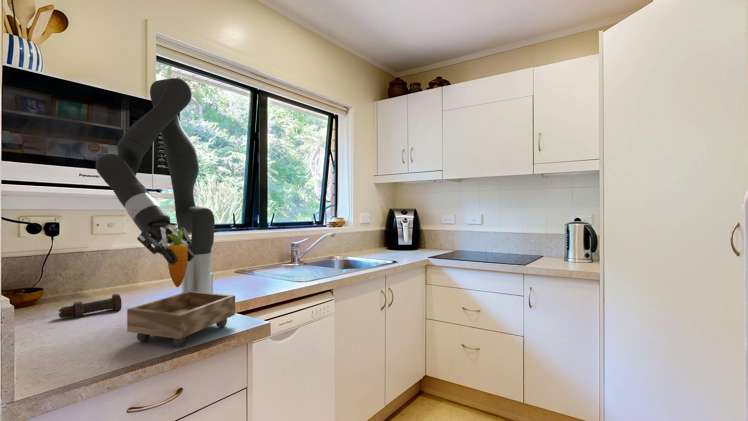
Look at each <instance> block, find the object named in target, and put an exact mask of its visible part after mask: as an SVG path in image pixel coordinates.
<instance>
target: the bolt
mask: <svg viewBox="0 0 748 421" xmlns="http://www.w3.org/2000/svg"><path fill="white" fill-rule="evenodd" d="M121 297H122V296H121V295H120V293H113V294H112V295H111V297H110V298H106V299H101V300H97V301H91V302H84V303H83V302H82V301H75V302H74V303H73V304H72V305H70V306H62V307H61V308H60V309H58V312H59V314H58V317H59V318H61V319H64V318H69V317H70V318H71V317H74V318H81V317H84V315H85V314H90V313H95V312H100V311H105V310H113V311H115V312H117V311H118V312H119V311H121V309H122V305H123V304H122V302H123V301H122V298H121Z"/></svg>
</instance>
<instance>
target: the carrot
mask: <svg viewBox="0 0 748 421" xmlns="http://www.w3.org/2000/svg"><path fill="white" fill-rule="evenodd" d="M171 234H172V236H171V235H169V234H168V235H167V236H168V237H170V238H171V239H172V241H173V242H174V244H172V245H170V244H168V247H169V248H168V249H171V250H172V252H173V253H174V254H175V256H176V257H177V258H178V261H177V262H176V263H175V264H173V265H171V264H170V263H168V262H167V267H168V271H169V275H170V278H171V281H172V282H173V284H174V286H175V287H176V288H179V287H180V286H182V281H183V279H184V276H185V273H186V268H187V261H188V247H187V246H186V245H184V244H181V239H182V236H183V233H182V231H181V230H178V238H176V237H175V234H174V233H171Z"/></svg>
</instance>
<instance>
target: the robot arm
mask: <svg viewBox="0 0 748 421" xmlns="http://www.w3.org/2000/svg"><path fill="white" fill-rule="evenodd" d="M192 92H193V91H192V89H191V87H190V85H189V83H188V82H186V81H185V80H184V79H182V78H177V77H170V78H163V79H159V80H155V81H153V82H152V84H151V85H150V88H149V95H150V100H151V104H152V107H153V108H151V109H149V111H148V112H147V113H145V114H144V115H143V116H142V117H140V118H139V119H138V120H136V121H135V122H134V123H133V124H132V125H131V126H130V127H129V128H128V129H127V131H126V132H125V133H124V135H123V136H122V137H121V139H120V140H119V141H118V143H117V144H116V148H117V150H116V151H117V154H115V153H105V154H102V155H101V156H99V157H98V158H97V160H96V161H95V170H96V172H97V173H98V174H99V176H100V177H101V178H102V179H103V181H104V182H105V183H106V184H107V185H108V186H109V188H110V189H111V190H112V191H113V193H114V194H115V196H116V198H117V199H118V201H119V203H120V204H121V205H122V206H123V208H124V209H125V211H126V213H127V215H128V216H129V218H130V219H131V220H132V221H133V223H134V225H135V226H136V227H137V228H138V229H139V230H140V232H141V233H140V234H139V235H138V236H137V238H136V239H137V241H138V242H139V243H141V244H142V245H143V246H144V247H145V248H146V249H147V250H148V251H149V252H151V254H153V255H156V254H159V255H161V256H162V257H163V258H164V259H165V260H166V262H167V264H168V263H170V264H171V265H173V264H175V263H176V262H177V261H178V258H177V257H176V256H175V254H174V253H173V252H172V250H171V249H168V248H169V247H168V246H169V245H172V244H174V242H173V241H172V239H171V238H170V237H168V236H167V235H168V234H169V235H171V236H172V234H171V233H174V234H175V237H176V239H177V238H178V230H181V231H182V233H183V236H182V239H181V243H180V244H184V245H186V246H187V247H188V261H187V268H186V273H185V276H184V279H183V281H182V283H181V293H184V292H188V291H194V292H204V293H214V273H213V272H212V248H213V246H214V245H213V244H214V243H215V242H214V240H215V228H216V227H215V226H216V222H215V215H214V213H213V211H212V210H211V209H210V208H209V207H205V206H204V207H203V206H197V205H196V202H195V197H194V196H195V195H194V188H195V184H196V181H197V178H198V175H199V171H200V170H199V168H200V166H199V165H200V164H199V160H198V154H197V150H196V147H195V145H194V144H193V142H192V140H191V138H190V137H189V136H188V135H187V133H186V132H185V130H184V129H183V126H182V124H181V122H180V118H179V114H180V113H181V112H182V111H183V110H184V109H185V108H186V107H187V106H188V105H189V104H190V103H191V101H192V98H193V93H192ZM160 134H161V138H162V142H163V147H164V153H165V157H166V163H167V168H168V172H169V177H170V180H171V187H172V192H173V199H174V210H175V211H174V212H175V220H176V224H177V226H178V228H176V227H175V226H173V225H172V224H171V217H170V216H169V214H167V212H166V211H165V209H163V207H162V206H161V205H160V203H159V202H158V200H156V199H155V198H154V197H153V196H152V195H151V193H150V192H149V191H148V189H147V188H146V187H145V186H144V185H143V184H142V182H141V181H140V180H139V179H138V177H137V174H138V171H139V170H140V167H141V163H142V159H143V157H144V156H145V155H146V154H147V152H148V151H149V149H150V148H151V146H152V145H153V144H154V142H156V139H157V138H158V137H159V135H160ZM189 234H191V235H189ZM190 236H191V238H190ZM152 245H153V246H152Z"/></svg>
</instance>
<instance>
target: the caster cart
mask: <svg viewBox="0 0 748 421" xmlns="http://www.w3.org/2000/svg"><path fill="white" fill-rule="evenodd" d="M126 314H127V315H126V321H127V323H126V327H127V328H126V332H129V333H136V339H137V341H139V342H143V343H144V342H145V343H146V342H147V341H148V340H149V339H151V336H157V337H161V338H162V337H164V338H169V339H170V338H171V339H172V345H173V347H177V348H182V347H184V345H185V344H186V342H187V337H189V336H190V335H192V334H195V333H198V332H199V331H201V330H203V329H207V328H209V327H211V326H213V325H216V326H217V327H218V328H224V327H226V326H227V323H228V319H229V318H230V317H234V316H235V315H236V295H234V294H223V293H214V292H213V293H204V292H194V291H188V292H184V293H182V292H181V293H178V294H174V295H171V296H167V297H165V298H161V299H157V300H154V301H151V302H148V303H143V304H141V305H137V306H134V307H130V308H127V309H126Z"/></svg>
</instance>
